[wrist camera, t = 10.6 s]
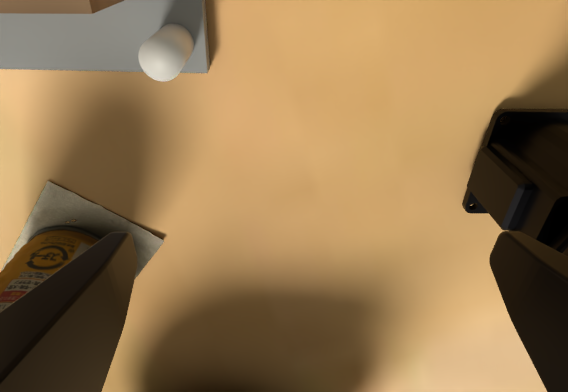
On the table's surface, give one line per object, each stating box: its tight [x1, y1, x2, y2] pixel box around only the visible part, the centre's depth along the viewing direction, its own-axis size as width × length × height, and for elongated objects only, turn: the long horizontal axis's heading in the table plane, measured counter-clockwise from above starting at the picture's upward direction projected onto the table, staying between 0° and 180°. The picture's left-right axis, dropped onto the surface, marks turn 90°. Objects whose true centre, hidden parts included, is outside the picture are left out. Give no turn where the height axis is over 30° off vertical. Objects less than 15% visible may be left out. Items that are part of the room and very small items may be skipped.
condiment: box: [0, 181, 164, 312], centre depth 20 cm, size 7×8×12 cm
